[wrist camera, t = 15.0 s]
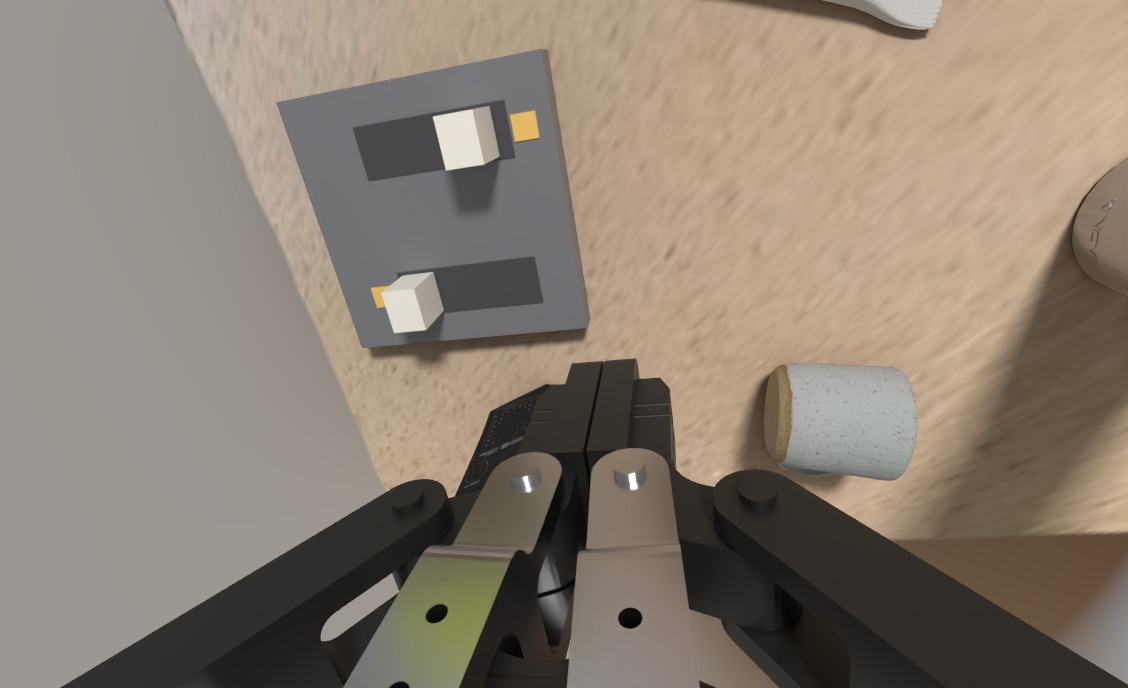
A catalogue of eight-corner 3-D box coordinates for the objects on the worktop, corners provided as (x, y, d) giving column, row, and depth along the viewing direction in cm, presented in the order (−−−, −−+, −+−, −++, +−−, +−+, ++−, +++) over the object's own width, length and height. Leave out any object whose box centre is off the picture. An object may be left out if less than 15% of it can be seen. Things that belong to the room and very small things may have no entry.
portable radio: (564, 371, 44) (464, 672, 22) (602, 428, 46) (547, 759, 24) (486, 409, 47) (329, 710, 25) (526, 461, 49) (412, 786, 27)
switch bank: (547, 50, 34) (540, 48, 33) (589, 317, 42) (586, 328, 40) (294, 101, 38) (275, 102, 36) (374, 337, 46) (361, 348, 44)
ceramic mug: (767, 343, 41) (787, 400, 34) (888, 347, 39) (934, 407, 33) (751, 459, 45) (766, 530, 39) (859, 466, 44) (894, 540, 37)
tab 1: (433, 271, 40) (413, 288, 37) (443, 310, 41) (425, 330, 38) (402, 275, 40) (381, 292, 37) (414, 313, 42) (394, 333, 38)
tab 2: (489, 106, 34) (472, 109, 31) (499, 156, 36) (484, 164, 32) (453, 112, 35) (432, 116, 32) (464, 162, 36) (445, 170, 33)
